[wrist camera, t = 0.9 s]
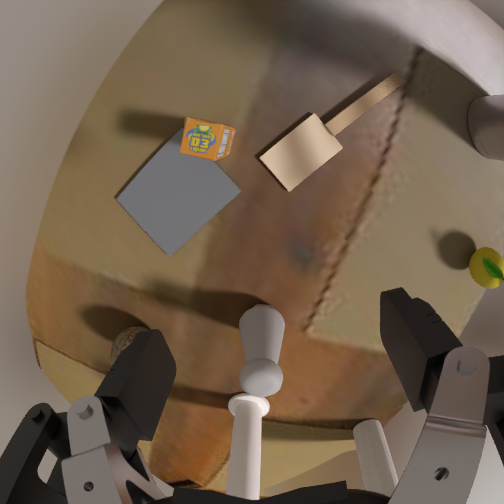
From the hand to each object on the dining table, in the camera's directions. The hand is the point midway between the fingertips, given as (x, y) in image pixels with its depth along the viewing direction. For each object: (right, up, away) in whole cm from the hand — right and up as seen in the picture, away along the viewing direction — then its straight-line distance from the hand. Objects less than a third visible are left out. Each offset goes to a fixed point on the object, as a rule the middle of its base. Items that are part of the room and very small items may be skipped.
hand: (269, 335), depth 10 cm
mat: (-10, +10, +23) cm, 26 cm away
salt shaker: (+1, -6, +28) cm, 29 cm away
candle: (-1, -23, +35) cm, 42 cm away
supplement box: (-4, +15, +21) cm, 26 cm away
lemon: (+33, +2, +24) cm, 41 cm away
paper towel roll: (+22, -33, +37) cm, 55 cm away
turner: (+9, +18, +19) cm, 28 cm away
